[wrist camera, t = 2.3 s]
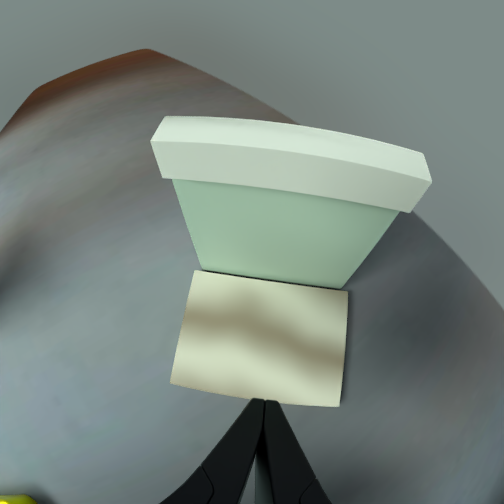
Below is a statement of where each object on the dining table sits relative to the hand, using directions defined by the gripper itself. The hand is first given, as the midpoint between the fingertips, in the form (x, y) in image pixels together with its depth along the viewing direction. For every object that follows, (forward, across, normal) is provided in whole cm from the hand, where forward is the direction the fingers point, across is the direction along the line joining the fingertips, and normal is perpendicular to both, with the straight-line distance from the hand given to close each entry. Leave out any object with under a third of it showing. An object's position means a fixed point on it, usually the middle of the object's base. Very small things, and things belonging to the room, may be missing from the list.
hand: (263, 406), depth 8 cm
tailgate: (+17, 0, +2) cm, 17 cm away
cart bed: (+12, 0, +6) cm, 14 cm away
